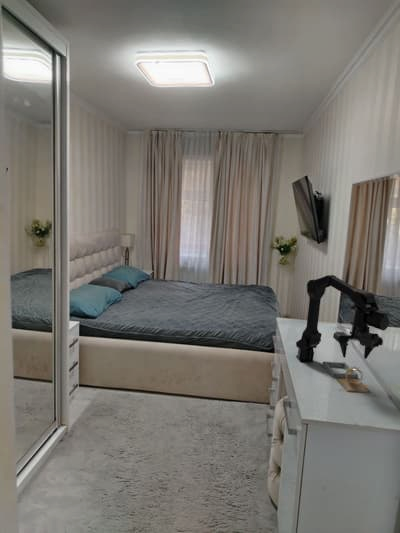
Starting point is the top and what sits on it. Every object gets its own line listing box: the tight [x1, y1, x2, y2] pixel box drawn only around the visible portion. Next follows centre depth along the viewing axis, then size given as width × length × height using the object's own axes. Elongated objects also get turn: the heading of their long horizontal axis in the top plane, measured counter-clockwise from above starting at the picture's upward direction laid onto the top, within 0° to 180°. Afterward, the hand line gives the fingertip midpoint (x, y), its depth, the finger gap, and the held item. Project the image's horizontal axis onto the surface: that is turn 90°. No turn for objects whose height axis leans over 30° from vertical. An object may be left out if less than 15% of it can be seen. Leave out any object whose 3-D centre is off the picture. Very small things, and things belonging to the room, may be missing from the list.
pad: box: [335, 378, 372, 394], centre depth 153 cm, size 10×10×1 cm
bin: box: [322, 361, 359, 380], centre depth 166 cm, size 11×13×2 cm
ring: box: [345, 365, 364, 385], centre depth 153 cm, size 7×3×8 cm, turn 73°
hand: (354, 357), depth 153 cm, fingers open, 9 cm apart
